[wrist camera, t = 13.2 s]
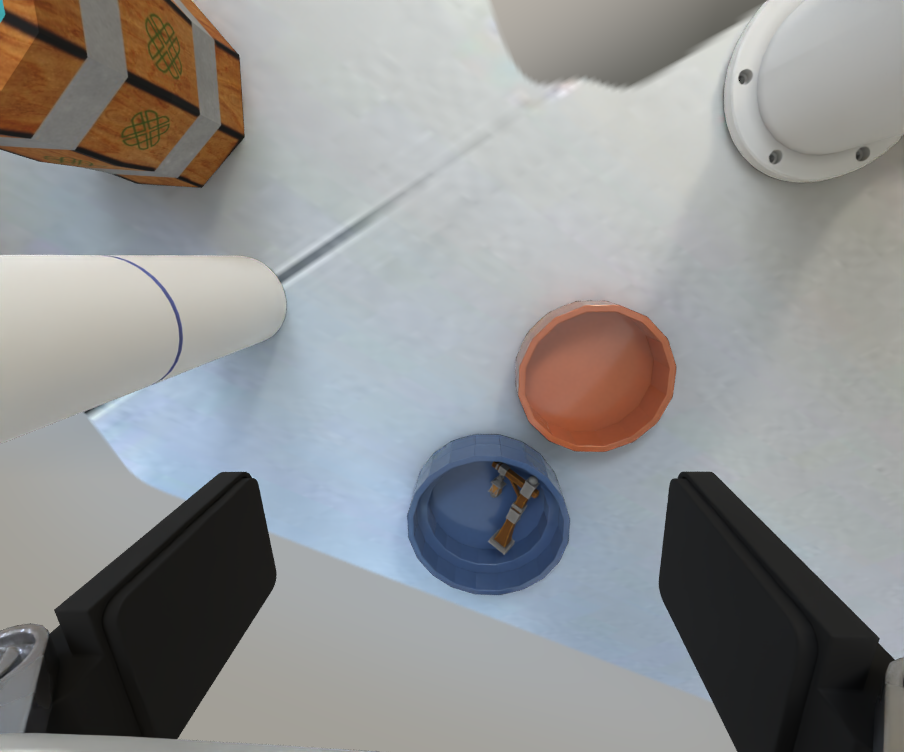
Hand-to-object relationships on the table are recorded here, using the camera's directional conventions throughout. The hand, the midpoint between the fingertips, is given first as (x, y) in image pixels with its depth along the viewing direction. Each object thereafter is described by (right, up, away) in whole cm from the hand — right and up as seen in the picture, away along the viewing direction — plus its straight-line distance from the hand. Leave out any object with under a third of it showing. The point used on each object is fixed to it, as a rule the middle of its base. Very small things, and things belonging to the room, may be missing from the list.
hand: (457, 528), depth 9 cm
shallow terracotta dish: (+11, +4, +25) cm, 27 cm away
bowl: (+3, -8, +29) cm, 30 cm away
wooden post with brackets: (+3, -8, +27) cm, 29 cm away
